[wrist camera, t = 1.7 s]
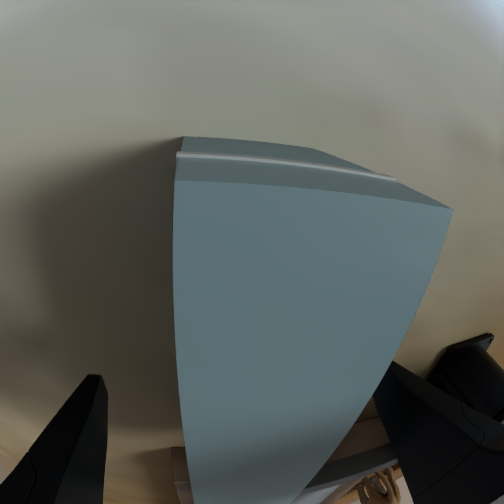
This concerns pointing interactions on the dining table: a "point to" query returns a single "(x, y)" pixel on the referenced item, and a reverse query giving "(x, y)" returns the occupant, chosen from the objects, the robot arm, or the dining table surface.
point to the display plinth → (332, 472)
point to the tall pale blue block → (286, 306)
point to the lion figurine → (379, 489)
